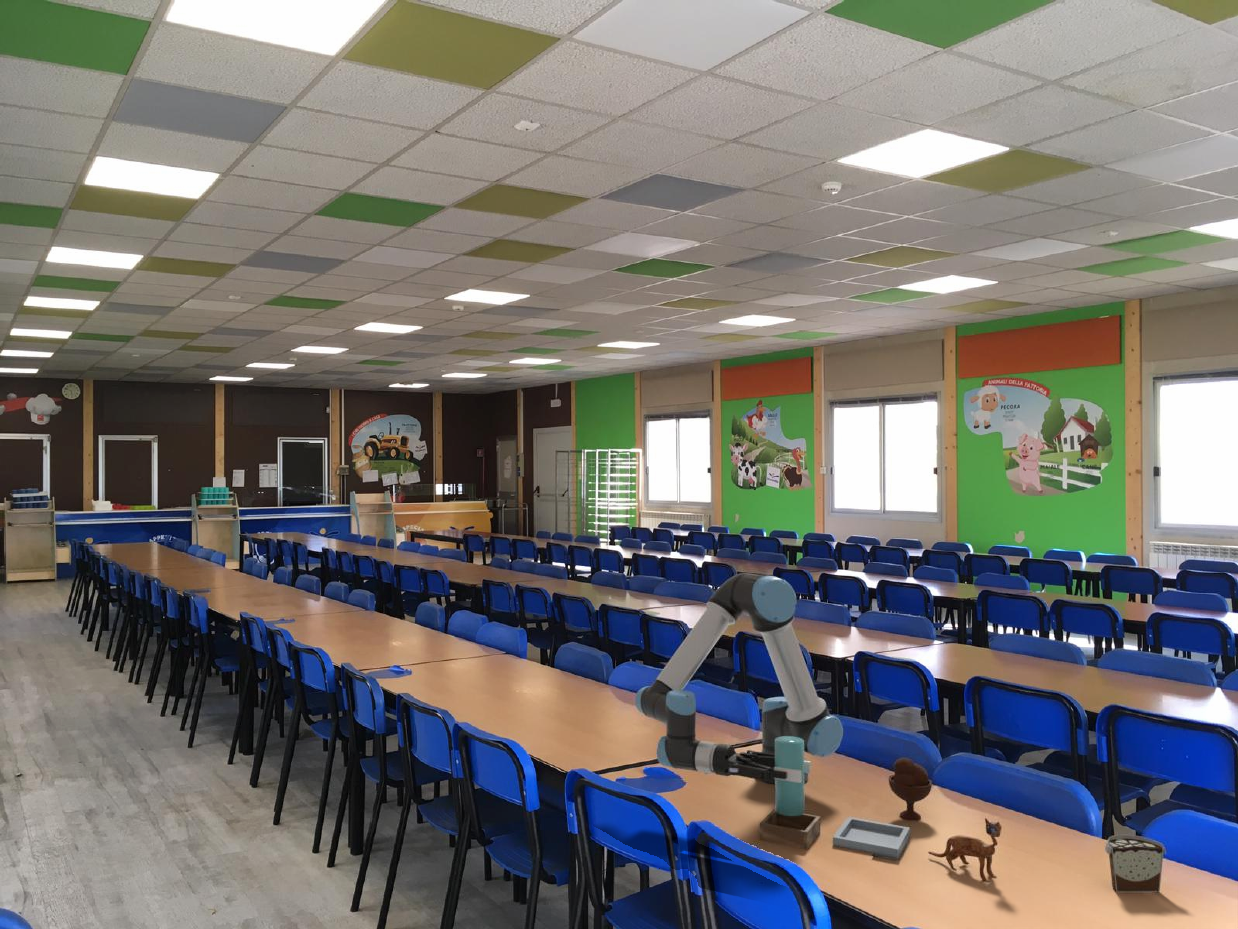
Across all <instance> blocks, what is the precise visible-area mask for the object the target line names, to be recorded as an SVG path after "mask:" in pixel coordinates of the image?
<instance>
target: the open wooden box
mask: <svg viewBox="0 0 1238 929" xmlns="http://www.w3.org/2000/svg"><path fill="white" fill-rule="evenodd" d="M820 834H821V816H820V815H814V814H809V813H804V814H802V815H799V816H785V815H781V814H779V813H777V812H776V811H775V808H774V809H773V810H771V812H769V814H767V815H766V817H764V818H763V820H761V821H760V822H759V841H763V842H768V843H773V844H778V845H782V846H787V847H793V848H798V849H803V850H808V849H809V848H810V847H811V845H812V844H813V843H814V841H815V840H816V839H817V838H818V837H819V835H820Z"/></svg>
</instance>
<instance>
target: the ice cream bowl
mask: <svg viewBox="0 0 1238 929" xmlns="http://www.w3.org/2000/svg"><path fill="white" fill-rule="evenodd" d="M893 773H894V774H892V775H889V777H888V784H889V788H890V789H891V791H892V793H894V795H896V796H897V797H898V798H900V800H903V801H905V803H906V809H905V810H903V811H901V812H900V813H899V818H901V819H902V820H905V821H909V822H918V821H920V820H922V816H921V814H919V812H917V811H915V810H914V809H915V808H914V807H915V806H914V805H915V803H916V802H917V803H918V802H920V801H922V800H924V799H925V798H927V797H928V796H929V795H930V793H931V790H932V786H933V780H931V779H929V776H928V772H927V770H926V769H925V768H924V766H922V765H920V764H918V763H915V762H914V761H913V759H911V758H908V757H900V758H898V759H896V760H895V762H894V763H893Z"/></svg>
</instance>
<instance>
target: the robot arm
mask: <svg viewBox="0 0 1238 929" xmlns="http://www.w3.org/2000/svg"><path fill="white" fill-rule="evenodd" d="M797 601H798V600H797V596H796V591H795V590H794V588H793V586H792V585H791V584H790V583H789V582H788V581H786V580H785V579H783V578H779V577H777V576H774V575H763V574H762V575H761V574H755V573H750V572H741V573H738V574H735V575H733V576H731V577H730V578H728V579H726V581H725V582H723V583H722V584H721V585H719V587H718V588H717V589H716V591H714V593H713V594H712V595H711V597H710V598H709V599H708V600H707V602H706V609H705V611H704V612H703V614H702V615H701V617H700V618H699V619H698V621H696V623H695V625H694V626H693V627H692V629H691V630H690V632H689V633H688V634H687V636H686V637H685V639H684V640H683V641H682V642H681V644H680V646H679V647H678V648H677V649H676V651H675V652H674V654H673V655H672V656H671V658H670V659H669V660H668V662H667V663H666V664H665V666H664V668H663V669H662V670H661V672H660V673H659V674H658V675H657V677H656V678H655V680H654V681H653V682H652V684H651V685H650V686H644V687H641V688H640V689H639V690H638V691H637V693H636V694H635V697H634V703H635V707H636V709H637V710H638V712H639V713H642V715H644V716H646V717H648V718H651V719H653V720H656V721H658V722H660V723H662V724H664V725H666V727H665V729H666V732H665V733H666V734H665V735H663V736H662V737H661V738H660V739H659V740H658V743H657V747H656V748H657V749H656V758H657V761H658V762H659V764H660V765H662V766H663V767H664V766H665V767H669V768H673V769H677V770H686V771H693V772H699V773H703V774H704V775H705V776H707V775H708V774H713V775H714V774H715V775H718V776H723V777H724V776H725V777H729V776H739V777H743V778H749V779H754V780H758V781H763V782H765V783H769V784H773V785H775V779H779V780H785V781H791V782H798V783H801V782H802V772H801V770H794V769H788V768H781V767H775V738H777V737H782V736H792V737H798V738H801V739H803V740H804V753H807V754H810V755H811V756H817V757H819V758H820V757H821V758H826V757H829V756H831V755H832V754H834V752H836V751H837V750H838V748H839V747H840V745H841V741H842V740H843V735H844V728H843V724H842V722H841V721H840V719H839V718H838V717H837V716H835V715H831V713H830V710H829V709H828V705H827V703H826V701H825V699H823V698H822V697H819V696H818V694H817V691H816V688H815V686H814V682H813V679H812V677H811V675H810V671H809V669H808V666H807V663H806V661H805V657H804V655H803V651H802V649H801V647H800V645H799V641H798V637H797V636H796V632H795V630H794V628H793V625H792V624H793V621H794V620H795V612H796V609H797V608H796V605H797ZM742 616H748V617H749V619H750V622H751V625H752V628H753V630H754V631H755V632H756V633H759V634H761V636H762V639H763V640H764V644H765V646H766V649H767V651H768V655H769V657H770V659H771V662H772V665H773V668H774V670H775V674H776V677H777V679H778V682H779V684H780V687H781V690H782V693H783V696H775V697H769V698H766V699H765V700H764V701H763V702H762V710H761V733H762V734H761V737H762V738H761V740H762V742H761V743H762V744H761V745H762V746H761V748H762V749H761V751H755V750H751V749H748V750H746V752H744V751H742V752H736V750H735V747H734V746H733V745H731V744H724V743H717V742H713V741H705V740H698V739H696V738H697V737H696V714H697V712H696V711H697V706H696V696H695V694H694V693H693V692H692V691H690V690H685V689H684V688H685V687H686V686H687V684H688V683H689V682H690V680H691V679H692V677H693V676H694V674H696V672H697V670H698V669H699V668H700V667H701V665H702V663H703V662H704V660H706V658H707V656H708V655H709V653H710V652H711V651H712V649H713V648H714V646H715V645H716V644H717V643H718V641H719V640H720V638H721V637H722V636H723V634H724V633H725V631H726V630H727V629H728V627H729V626H732V625H735V623H736V622H737V621H738V619H740V618H741V617H742ZM811 764H812V763H811V761H809V760H806V759H805V757H804V783H806V782H807V781H808V780H809V774H811V772H812V771H811V767H812V765H811Z"/></svg>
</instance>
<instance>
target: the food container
mask: <svg viewBox="0 0 1238 929" xmlns="http://www.w3.org/2000/svg"><path fill="white" fill-rule="evenodd" d="M1164 845H1165V844H1163V843H1161V842H1159V841H1157V840H1154V839H1151V838H1148V837H1144V836H1139V835H1133V834H1132V835H1131V834H1115V835H1111V836H1109V837H1108V839H1107V840H1106V843H1105V847H1104V850H1105V852H1106V853H1107V855H1108V858H1109V868H1110V875H1111V886H1112V887H1113V888H1112V890H1113V891H1114V892H1115V893H1117V894H1118V892H1119V893H1120V894H1121V892H1122V893H1124V892H1126V893H1127V892H1131V893H1158V892H1157V891H1160V890H1161V882H1162V870H1163V862H1164V861H1163V860H1164V855H1167V850H1166V847H1165V846H1164ZM1155 891H1156V892H1155ZM1160 892H1161V891H1160ZM1127 894H1128V893H1127Z"/></svg>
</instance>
